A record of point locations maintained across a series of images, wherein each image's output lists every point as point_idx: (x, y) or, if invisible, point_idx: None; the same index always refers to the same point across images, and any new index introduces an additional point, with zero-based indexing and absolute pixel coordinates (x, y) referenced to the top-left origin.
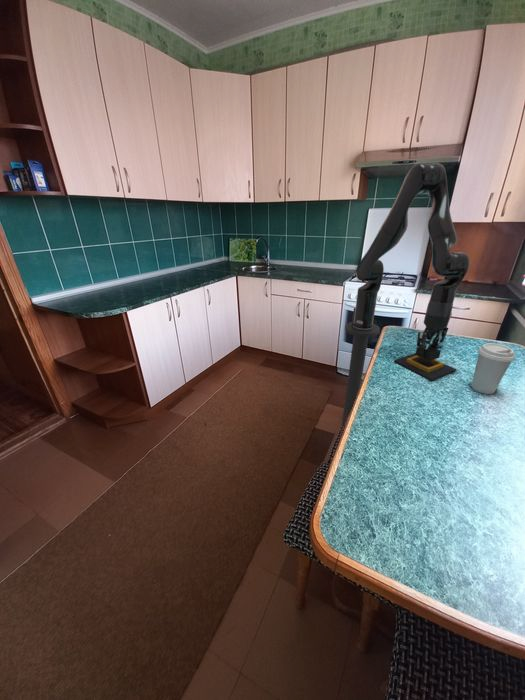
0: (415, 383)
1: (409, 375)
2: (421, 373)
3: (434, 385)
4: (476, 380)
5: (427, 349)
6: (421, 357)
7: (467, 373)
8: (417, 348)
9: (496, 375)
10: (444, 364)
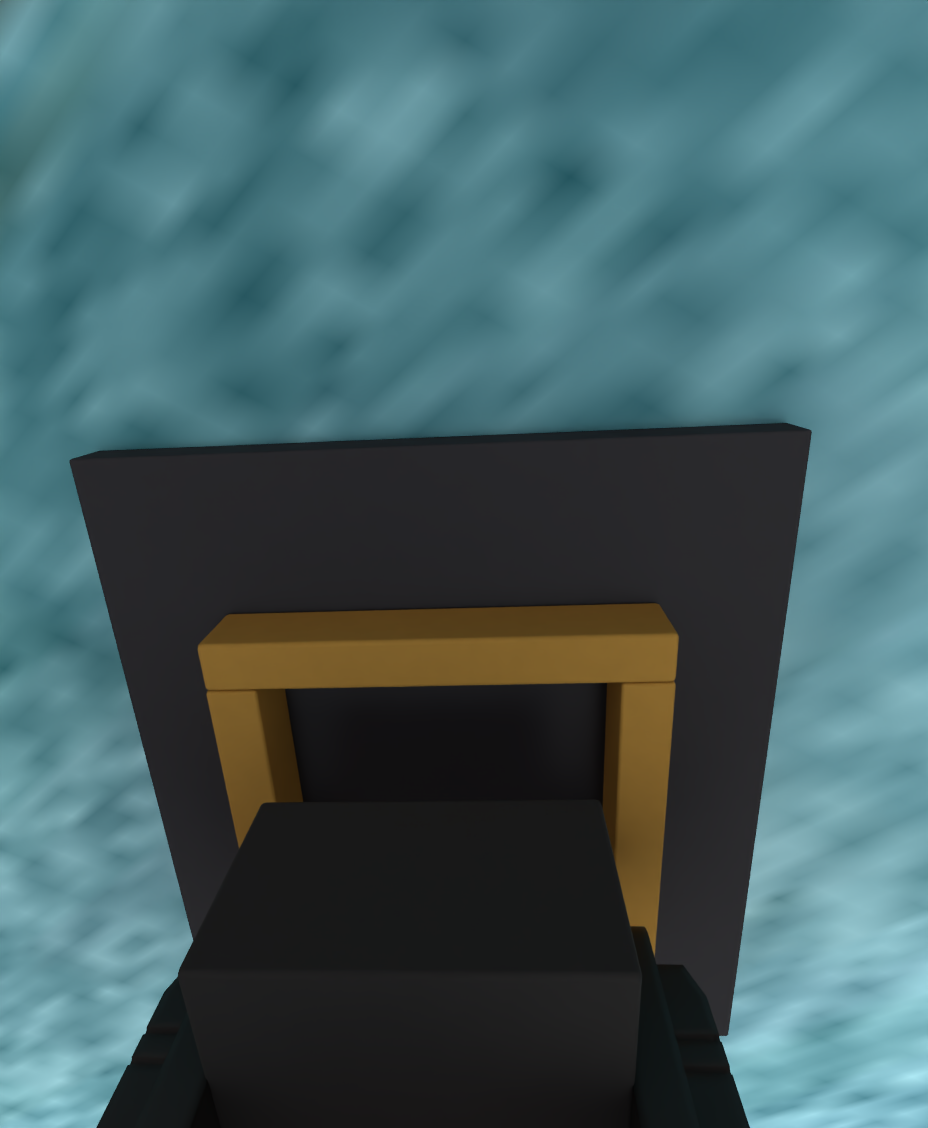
0: (23, 945)
1: (74, 818)
2: (195, 915)
3: None
4: None
5: None
6: None
7: (789, 1067)
8: (184, 988)
9: None
10: (725, 917)
